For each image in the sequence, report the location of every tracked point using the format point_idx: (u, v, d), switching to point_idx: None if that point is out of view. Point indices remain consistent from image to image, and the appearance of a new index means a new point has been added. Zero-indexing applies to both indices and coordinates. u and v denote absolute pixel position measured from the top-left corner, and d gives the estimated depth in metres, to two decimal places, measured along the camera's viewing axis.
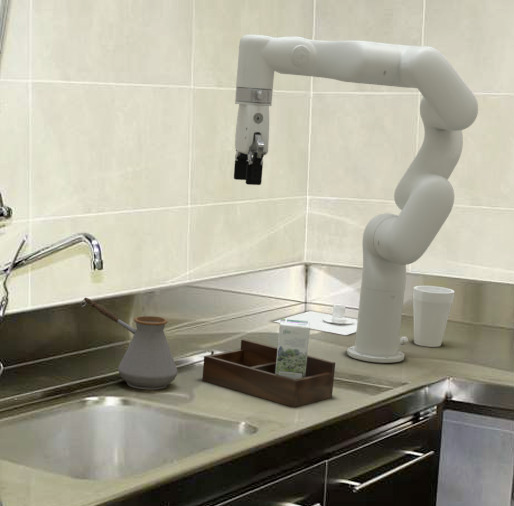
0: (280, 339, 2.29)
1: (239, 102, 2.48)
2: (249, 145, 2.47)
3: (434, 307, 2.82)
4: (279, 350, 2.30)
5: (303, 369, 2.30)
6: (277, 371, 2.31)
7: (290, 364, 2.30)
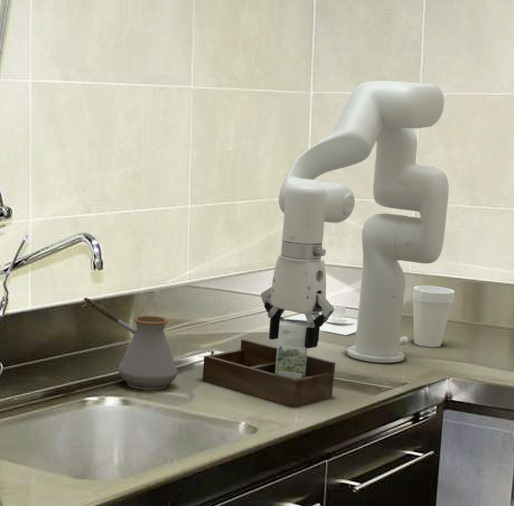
0: (280, 339, 2.29)
1: (296, 259, 2.24)
2: (312, 307, 2.25)
3: (434, 307, 2.82)
4: (279, 350, 2.30)
5: (303, 369, 2.30)
6: (277, 371, 2.31)
7: (290, 364, 2.30)
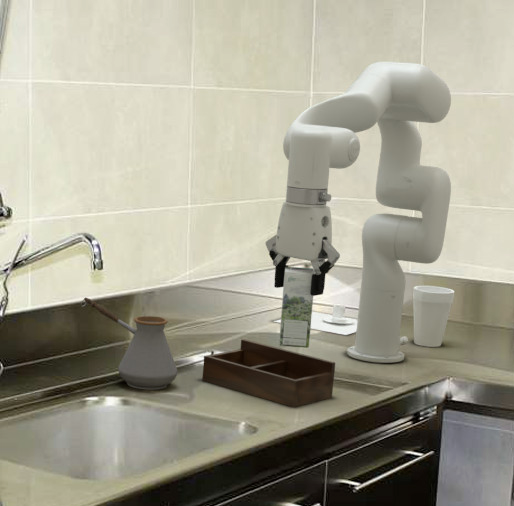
0: (285, 287, 2.27)
1: (301, 204, 2.21)
2: (317, 253, 2.23)
3: (434, 307, 2.82)
4: (284, 298, 2.27)
5: (309, 317, 2.28)
6: (282, 319, 2.28)
7: (296, 312, 2.28)
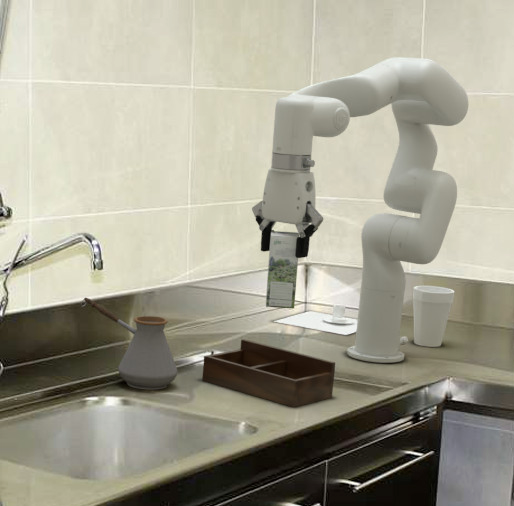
0: (271, 249, 2.36)
1: (286, 170, 2.31)
2: (302, 217, 2.33)
3: (434, 307, 2.82)
4: (270, 260, 2.37)
5: (294, 279, 2.37)
6: (269, 281, 2.38)
7: (281, 274, 2.37)
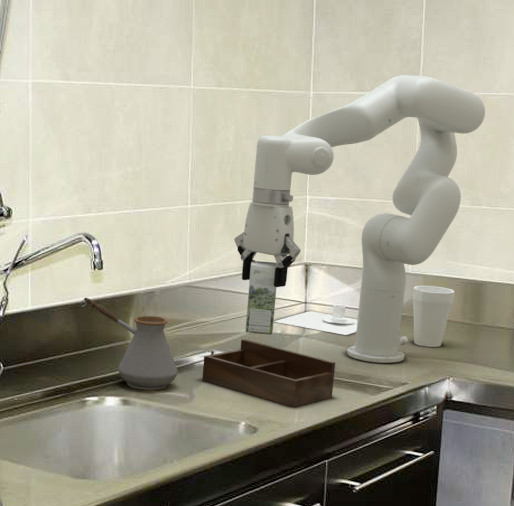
0: (251, 278, 2.50)
1: (266, 204, 2.45)
2: (280, 249, 2.46)
3: (434, 307, 2.82)
4: (250, 289, 2.50)
5: (272, 306, 2.51)
6: (248, 308, 2.51)
7: (260, 302, 2.51)
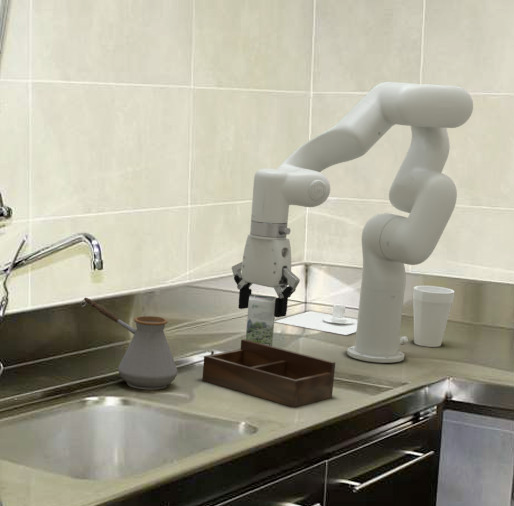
0: (249, 313, 2.52)
1: (263, 237, 2.46)
2: (279, 279, 2.48)
3: (434, 307, 2.82)
4: (248, 323, 2.52)
5: (270, 340, 2.53)
6: None
7: (258, 336, 2.53)
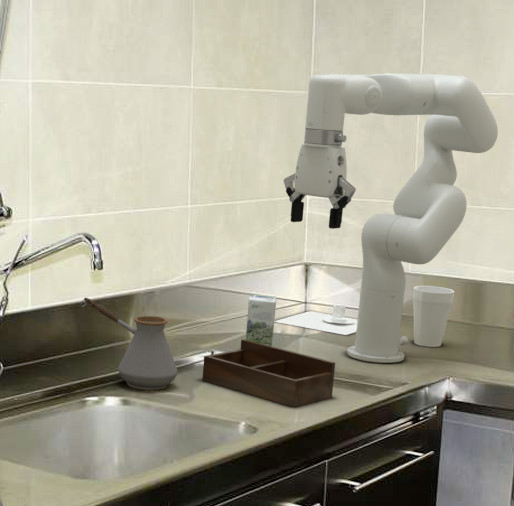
0: (249, 313, 2.52)
1: (319, 145, 2.40)
2: (334, 189, 2.41)
3: (434, 307, 2.82)
4: (248, 323, 2.52)
5: (270, 340, 2.53)
6: None
7: (258, 336, 2.53)
